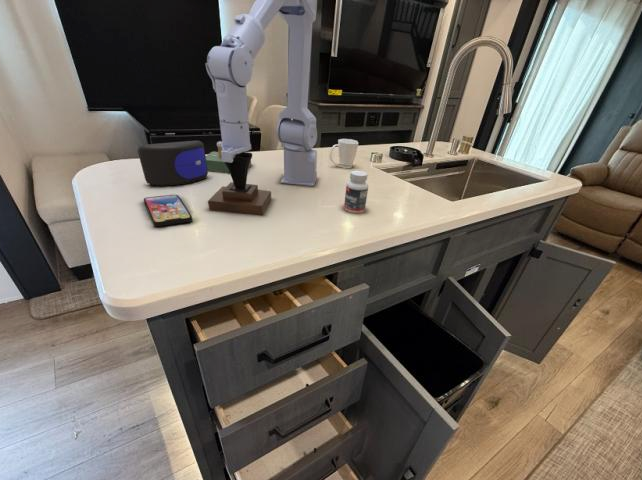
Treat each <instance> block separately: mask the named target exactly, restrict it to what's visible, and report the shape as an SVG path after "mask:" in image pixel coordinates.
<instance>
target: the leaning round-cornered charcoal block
mask: <svg viewBox="0 0 642 480" xmlns="http://www.w3.org/2000/svg"><path fill="white" fill-rule="evenodd" d="M137 153H138V158H139V161H140V165H141V169H142V172H143V177H144V180H145V182H146V183H147V184H149V185H151V186H155V187H156V186H157V187H166V186H167V187H168V186H179V185H186V184H191V183H196V182H199V181H202V180H204V179H206V178H207V177H208V174H209V171H208V169H207V163H206V156H207V155H206V150H205V145H204V143H203V142H202V141H200V140H185V141H174V142H162V143H161V142H159V143H149V144H148V143H147V144H141V145H140V146H139V147H137Z"/></svg>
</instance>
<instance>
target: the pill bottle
mask: <svg viewBox="0 0 642 480" xmlns="http://www.w3.org/2000/svg"><path fill="white" fill-rule="evenodd" d="M367 180H368V172H366V171H363V170H352V171H350V173H349V180H348V181H347V182H346V185H345V186H346V187H345V194H344V195H345V196H344V205H343V209H344V210H345V211H346V212H348V213H351V214H361V213H364V212H365V210H366V206H367V205H366V204H367V198H368V194H369V193H368V191H369V184H368V183H367Z"/></svg>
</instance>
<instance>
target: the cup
mask: <svg viewBox="0 0 642 480" xmlns="http://www.w3.org/2000/svg"><path fill="white" fill-rule="evenodd" d="M358 146H359V142H358V140H355V139H352V138H340V139H338V140H337V144H334V145H332V147H331V148H330V151H329V159H330V161H331V162H332V163H333V164H334V165H335V166H336V167H338V168H343V169H351V168H353V164H354V161H355V158H356V155H357V150H358ZM336 147H337V148H338V158H339V159H338V160H339V164H337V163H336V162H334V160H333V158H332V155H333V151H334V149H335V148H336Z"/></svg>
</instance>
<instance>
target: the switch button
mask: <svg viewBox="0 0 642 480" xmlns="http://www.w3.org/2000/svg"><path fill="white" fill-rule="evenodd" d="M249 189H250V186H249V185H246V187H245V188H244V189H242V188H235V186H233V187H232V188H231V190H233V191H244V192H248V190H249Z"/></svg>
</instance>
